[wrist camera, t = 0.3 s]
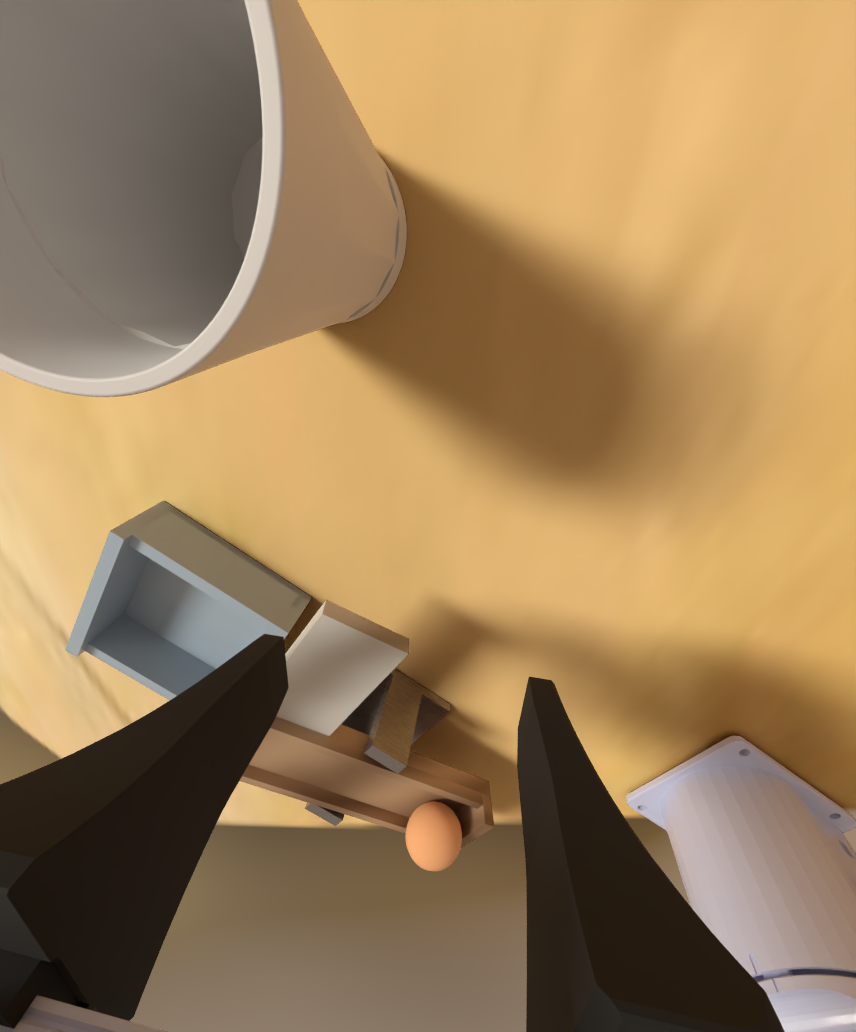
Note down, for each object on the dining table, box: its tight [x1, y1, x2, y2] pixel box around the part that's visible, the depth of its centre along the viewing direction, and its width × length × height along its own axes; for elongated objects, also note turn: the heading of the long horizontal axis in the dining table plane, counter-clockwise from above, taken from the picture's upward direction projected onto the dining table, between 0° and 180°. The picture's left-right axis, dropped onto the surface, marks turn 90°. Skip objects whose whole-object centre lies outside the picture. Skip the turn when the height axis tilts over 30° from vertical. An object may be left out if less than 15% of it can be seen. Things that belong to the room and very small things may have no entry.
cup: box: [0, 0, 407, 397], centre depth 11 cm, size 8×8×12 cm
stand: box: [305, 668, 451, 826], centre depth 25 cm, size 6×7×5 cm
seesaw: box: [239, 600, 494, 848], centre depth 21 cm, size 14×12×2 cm
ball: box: [406, 801, 462, 871], centre depth 23 cm, size 3×3×3 cm
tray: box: [66, 501, 312, 700], centre depth 24 cm, size 9×9×4 cm
